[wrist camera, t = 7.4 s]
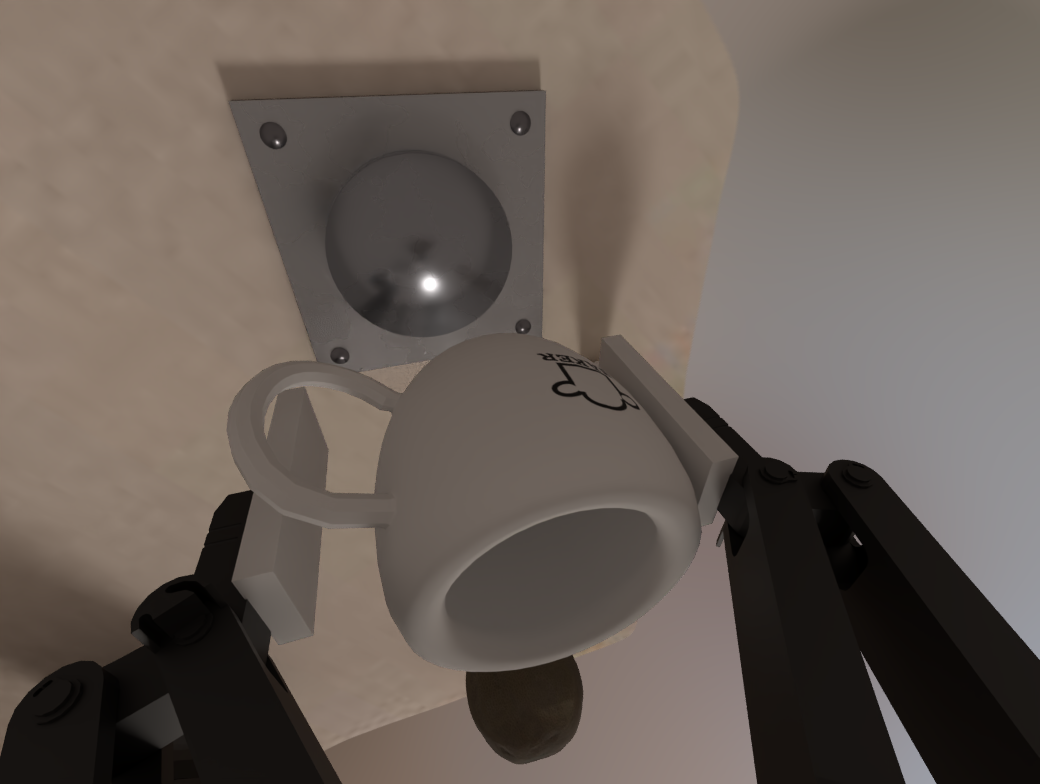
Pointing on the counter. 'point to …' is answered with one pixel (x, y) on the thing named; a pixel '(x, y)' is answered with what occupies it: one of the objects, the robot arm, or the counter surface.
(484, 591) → the mug
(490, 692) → the coconut
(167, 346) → the counter surface
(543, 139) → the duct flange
